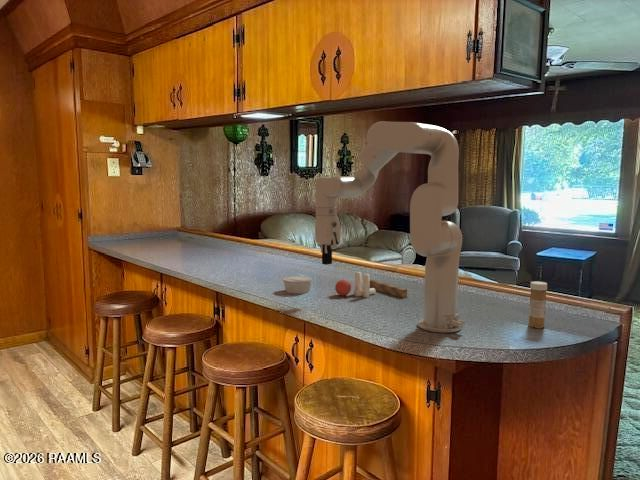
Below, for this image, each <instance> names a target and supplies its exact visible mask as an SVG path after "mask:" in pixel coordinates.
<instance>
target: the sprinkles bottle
mask: <svg viewBox="0 0 640 480" xmlns="http://www.w3.org/2000/svg"><path fill="white" fill-rule="evenodd" d="M529 288H530V296H529V297H530V298H529V299H530V300H529V306H528V307H529V309H528V311H529V312H528V315H529V317H528V326H529V327H530V328H533V327H535V328H534V329H544V328H545V320H546V319H545V317H546V306H547V292H548V283H547V282H545V281H538V280H537V281H530V287H529ZM543 327H544V328H543Z"/></svg>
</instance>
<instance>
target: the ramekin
mask: <svg viewBox="0 0 640 480" xmlns="http://www.w3.org/2000/svg"><path fill="white" fill-rule="evenodd" d="M312 281H313V278H312V277H311V276H306V275H292V276H291V275H290V276H286V277H284V278H283V285H284V289H285V291H286V293H288V294H292V295H300V294H301V295H302V294H303V295H304V294H307V293H309V292H310V291H311V286H312Z"/></svg>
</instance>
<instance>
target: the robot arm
mask: <svg viewBox="0 0 640 480" xmlns="http://www.w3.org/2000/svg"><path fill="white" fill-rule="evenodd" d="M366 142H367V145H366V146H365V147H364V148H363V149H362V150H361V151H360V153H359V161H360V162H361V164H362V165H363V166H362V167H361V168H360V169H359V170H358V171H357V172H356V173H355V174H354V175H349V176H347V175H346V176H345V175H343V176H341V175H339V176H338V175H337V176H331V177H329V176H328V177H317V178H316V179H315V183H314V185H315V187H314V188H315V189H314V190H315V222H314V223H315V224H314V225H315V227H314V230H315V231H314V238H315V242H316V243H317V247H318V248H320V252H321V265H325V266H326V265H327V266H328V265H332V264H333V253H334V249H337V245H340V243H341V232H340V231H341V229H340V221H339V217H338V199H354V198H355V199H357V198H358V197H361V196H362V195H363V194H364V193H366V191H367V192H368V190H369V189H370V188H371V187H372V186H373V185H375V183H376V181H377V178H378V176H379V172H380V170H381V169H383V167H384V166H386V165H387V164H388V163H389V162H390V161H391V160H392V159H393V158H394V157H396V155H398V154H399V153H407V154H419V155H420V154H421V155H423V154H424V155H429V156H430V157H431V158H430V160H429V164H428V168H427V183H423V184H421V185H419V186H418V187H417V188H416V189H415V190H414V191H413V193H412V195H411V198H410V202H409V211H410V212H409V238H410V244H411V247H412V249H413V251H414V252H415V253H416V254H417V255H419V256H422V257H426V261H425V265H424V289H423V292H424V293H423V318H420V319H418V321H417V326H418V327H419V328H421V329H422V330H424V331H429V332H433V333H445V334H447V333H455V332H458V331H461V330H462V329H463V328H464V326H465V325H466V321H465V320H461V319H460V313H457V309H458V290H459V289H458V286H459V285H458V284H459V268H460V267H459V265H460V256H461V251H462V246H463V234H462V231H461V229H460V227H459V226H458V225H457V224H456V223H454V222H453V221H449V220H442V219H443V217H447V216H450V215H452V214H454V213H455V212H456V210H457V208H458V205H459V157H460V156H459V155H460V151H459V150H460V149H459V143H458V139H457V138H456V137H455V135H454V134H453V133H452V132H451V131H450V130H449V129H448V130H447V129H446V128H444V127H441V126H438V125H433V124H428V123H421V122H414V121H383V120H381V121H377V122H375V123H373V124H372V125H371V126H370V127H369V128H368V130H367V133H366Z"/></svg>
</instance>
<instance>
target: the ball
mask: <svg viewBox="0 0 640 480" xmlns="http://www.w3.org/2000/svg"><path fill="white" fill-rule="evenodd" d="M334 289H335V292H336V293H337V294H338V295H339V296H343V297H344V296H347V295H349V293H350V292H351V290H352V285H351V283H350V282H349V281H348V280H346V279H340V280H338V281H336V284H335V286H334Z"/></svg>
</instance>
